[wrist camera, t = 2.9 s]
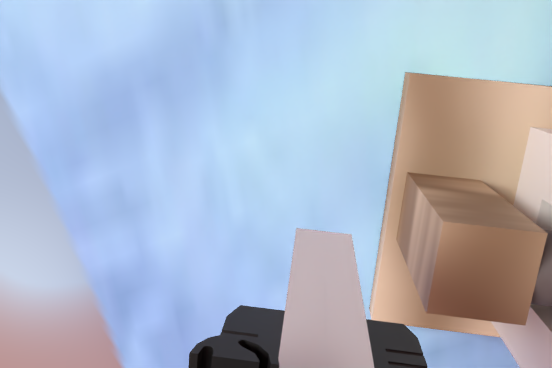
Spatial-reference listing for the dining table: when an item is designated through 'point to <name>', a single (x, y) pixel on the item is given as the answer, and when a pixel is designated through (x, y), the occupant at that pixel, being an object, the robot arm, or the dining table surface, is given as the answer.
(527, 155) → the sleeve
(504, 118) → the rail
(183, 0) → the dining table surface
